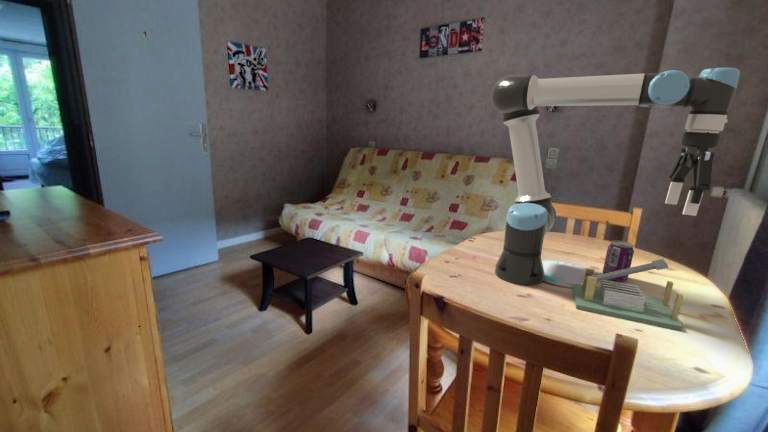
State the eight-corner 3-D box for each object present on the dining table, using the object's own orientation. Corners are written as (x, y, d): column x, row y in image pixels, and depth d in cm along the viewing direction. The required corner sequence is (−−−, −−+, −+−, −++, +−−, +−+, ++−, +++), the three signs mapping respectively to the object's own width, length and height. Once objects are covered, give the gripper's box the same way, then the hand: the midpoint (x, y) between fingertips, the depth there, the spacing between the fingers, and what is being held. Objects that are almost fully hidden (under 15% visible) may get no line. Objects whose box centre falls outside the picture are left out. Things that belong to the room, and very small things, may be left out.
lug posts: (584, 301, 95) (588, 278, 94) (581, 287, 103) (585, 266, 102) (676, 320, 87) (683, 295, 85) (666, 303, 95) (672, 280, 93)
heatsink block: (602, 305, 94) (605, 291, 93) (598, 291, 102) (601, 278, 101) (642, 313, 90) (646, 299, 89) (635, 298, 98) (638, 285, 97)
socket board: (575, 308, 94) (576, 304, 94) (572, 285, 107) (573, 282, 107) (680, 330, 85) (682, 326, 84) (663, 303, 98) (664, 299, 98)
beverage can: (631, 283, 110) (639, 248, 107) (607, 281, 111) (614, 246, 108) (621, 274, 116) (628, 241, 113) (598, 272, 118) (605, 239, 115)
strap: (588, 286, 96) (586, 280, 96) (587, 280, 100) (584, 275, 100) (669, 268, 87) (666, 263, 87) (664, 263, 91) (662, 257, 91)
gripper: (747, 134, 78) (717, 222, 84) (700, 131, 100) (679, 201, 106) (705, 132, 81) (679, 218, 87) (668, 129, 103) (650, 198, 109)
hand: (679, 209), depth 96 cm, fingers open, 13 cm apart
